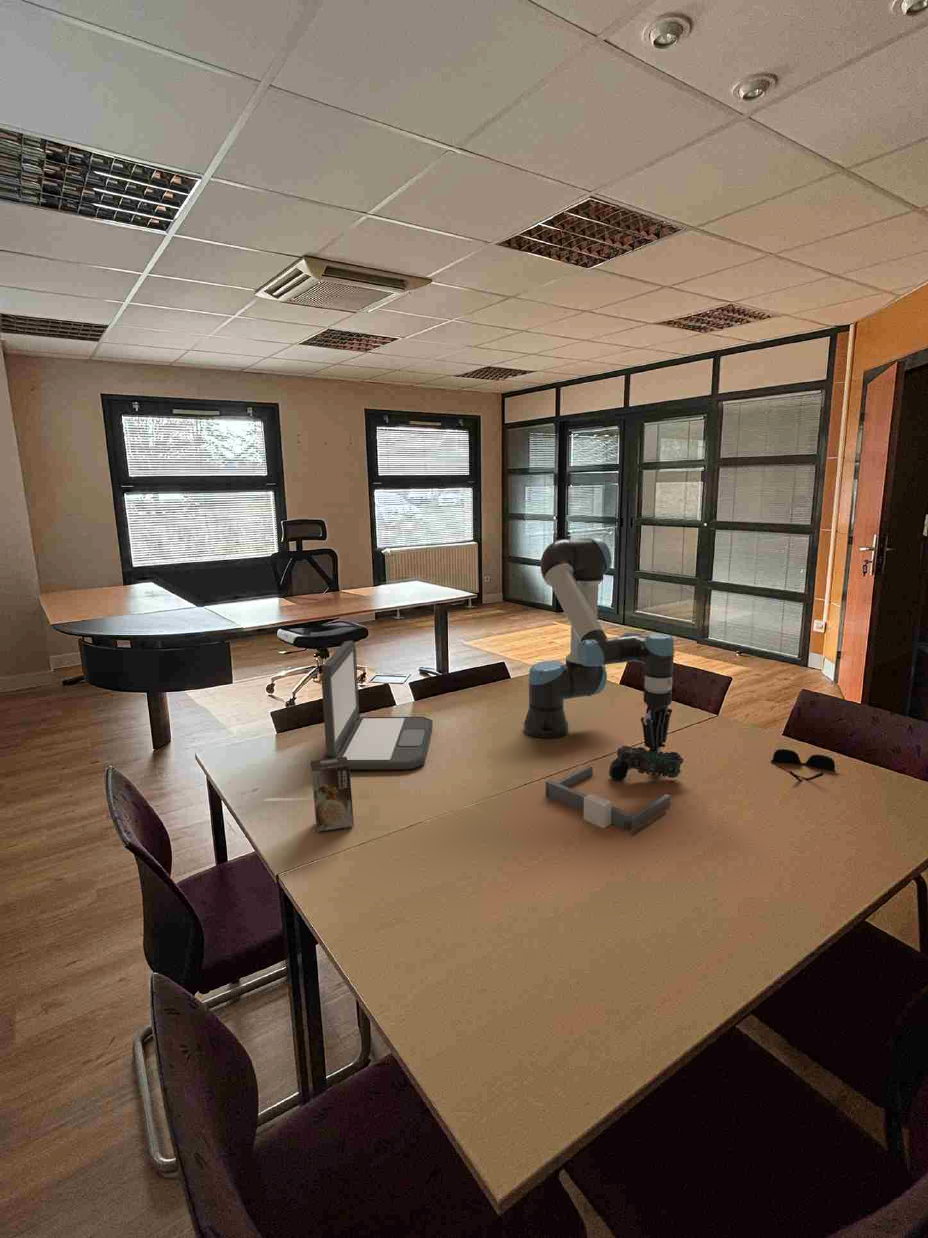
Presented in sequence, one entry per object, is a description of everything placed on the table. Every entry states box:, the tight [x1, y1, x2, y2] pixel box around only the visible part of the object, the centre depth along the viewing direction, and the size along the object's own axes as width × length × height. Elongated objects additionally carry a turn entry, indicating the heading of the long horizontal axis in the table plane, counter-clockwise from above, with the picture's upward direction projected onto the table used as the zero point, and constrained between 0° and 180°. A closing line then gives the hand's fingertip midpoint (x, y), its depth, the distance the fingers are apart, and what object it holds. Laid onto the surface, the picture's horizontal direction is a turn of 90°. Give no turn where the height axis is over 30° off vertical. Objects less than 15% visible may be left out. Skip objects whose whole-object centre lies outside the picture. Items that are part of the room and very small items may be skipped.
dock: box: [545, 764, 671, 836], centre depth 163 cm, size 28×22×6 cm
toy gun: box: [608, 745, 684, 781], centre depth 175 cm, size 4×19×10 cm, turn 84°
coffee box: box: [310, 757, 355, 832], centre depth 155 cm, size 9×6×16 cm
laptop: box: [321, 640, 434, 770], centre depth 201 cm, size 38×31×32 cm
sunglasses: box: [770, 748, 836, 782], centre depth 176 cm, size 17×14×5 cm
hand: (654, 768), depth 180 cm, fingers closed
